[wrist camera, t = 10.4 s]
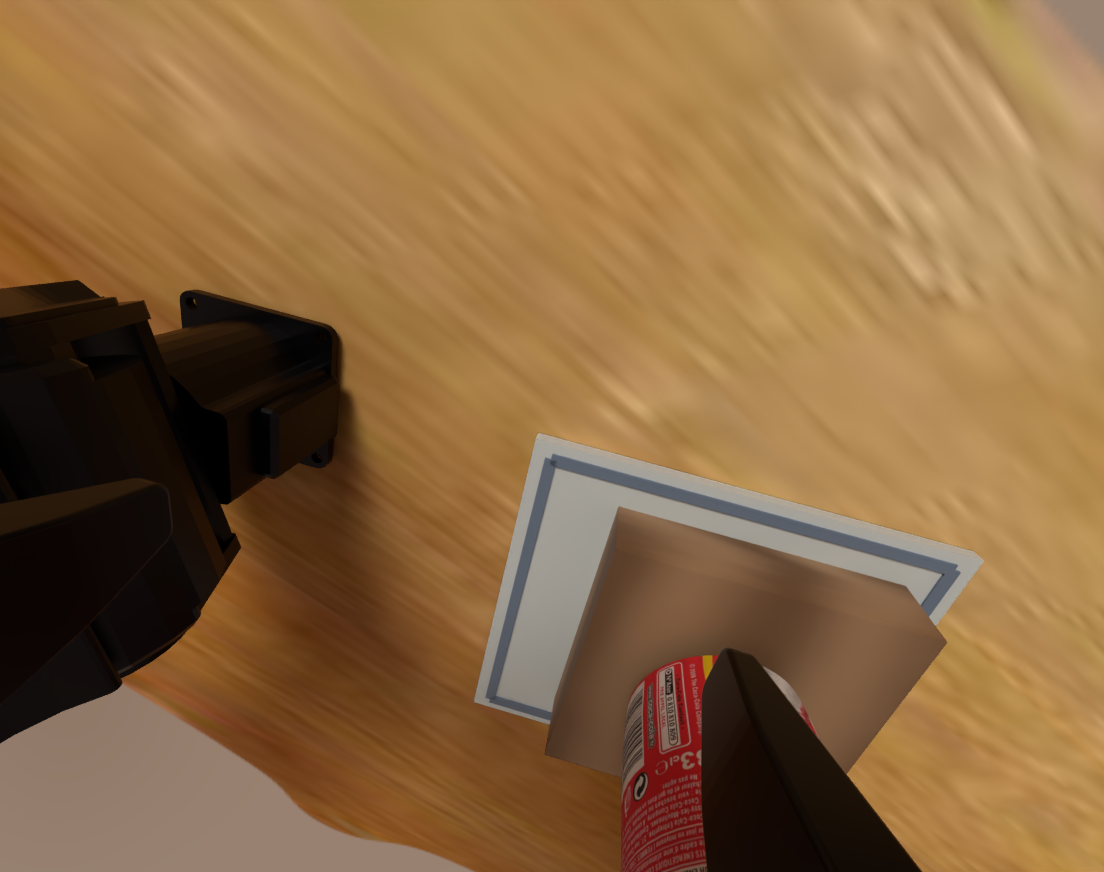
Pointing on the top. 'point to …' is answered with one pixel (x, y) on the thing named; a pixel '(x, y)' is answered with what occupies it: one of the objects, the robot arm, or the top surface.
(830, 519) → the white blue bordered mat
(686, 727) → the soda can
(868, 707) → the plinth
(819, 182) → the top surface
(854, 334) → the top surface
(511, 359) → the top surface
